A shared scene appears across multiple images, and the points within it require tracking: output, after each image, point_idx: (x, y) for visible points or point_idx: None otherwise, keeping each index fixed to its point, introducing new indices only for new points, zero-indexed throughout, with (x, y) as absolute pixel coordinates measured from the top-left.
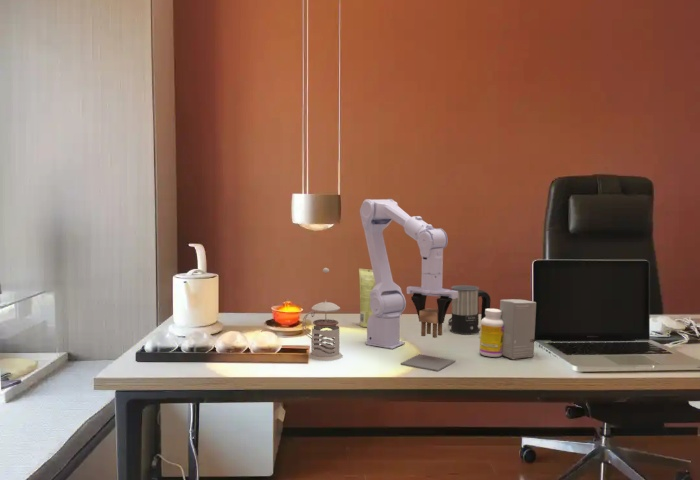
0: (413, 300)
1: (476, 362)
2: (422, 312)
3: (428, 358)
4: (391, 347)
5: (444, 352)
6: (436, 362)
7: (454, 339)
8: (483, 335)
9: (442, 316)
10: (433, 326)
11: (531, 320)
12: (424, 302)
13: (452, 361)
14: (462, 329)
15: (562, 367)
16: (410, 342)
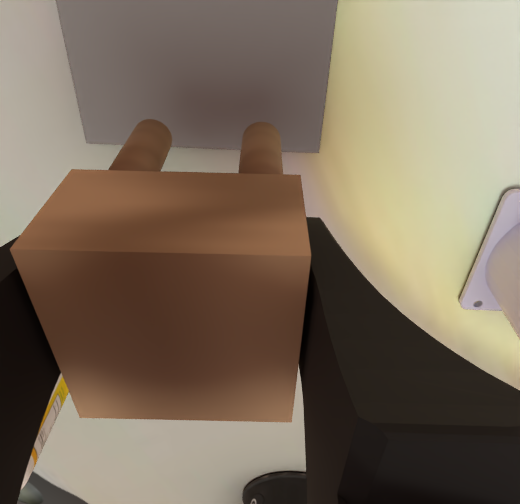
0: (474, 382)
1: (4, 186)
2: (255, 240)
3: (231, 95)
4: (516, 192)
5: None
6: (144, 32)
7: (279, 423)
8: None
9: None
10: (129, 164)
11: None
12: (309, 459)
13: (83, 111)
14: (282, 490)
15: None
16: (437, 330)
